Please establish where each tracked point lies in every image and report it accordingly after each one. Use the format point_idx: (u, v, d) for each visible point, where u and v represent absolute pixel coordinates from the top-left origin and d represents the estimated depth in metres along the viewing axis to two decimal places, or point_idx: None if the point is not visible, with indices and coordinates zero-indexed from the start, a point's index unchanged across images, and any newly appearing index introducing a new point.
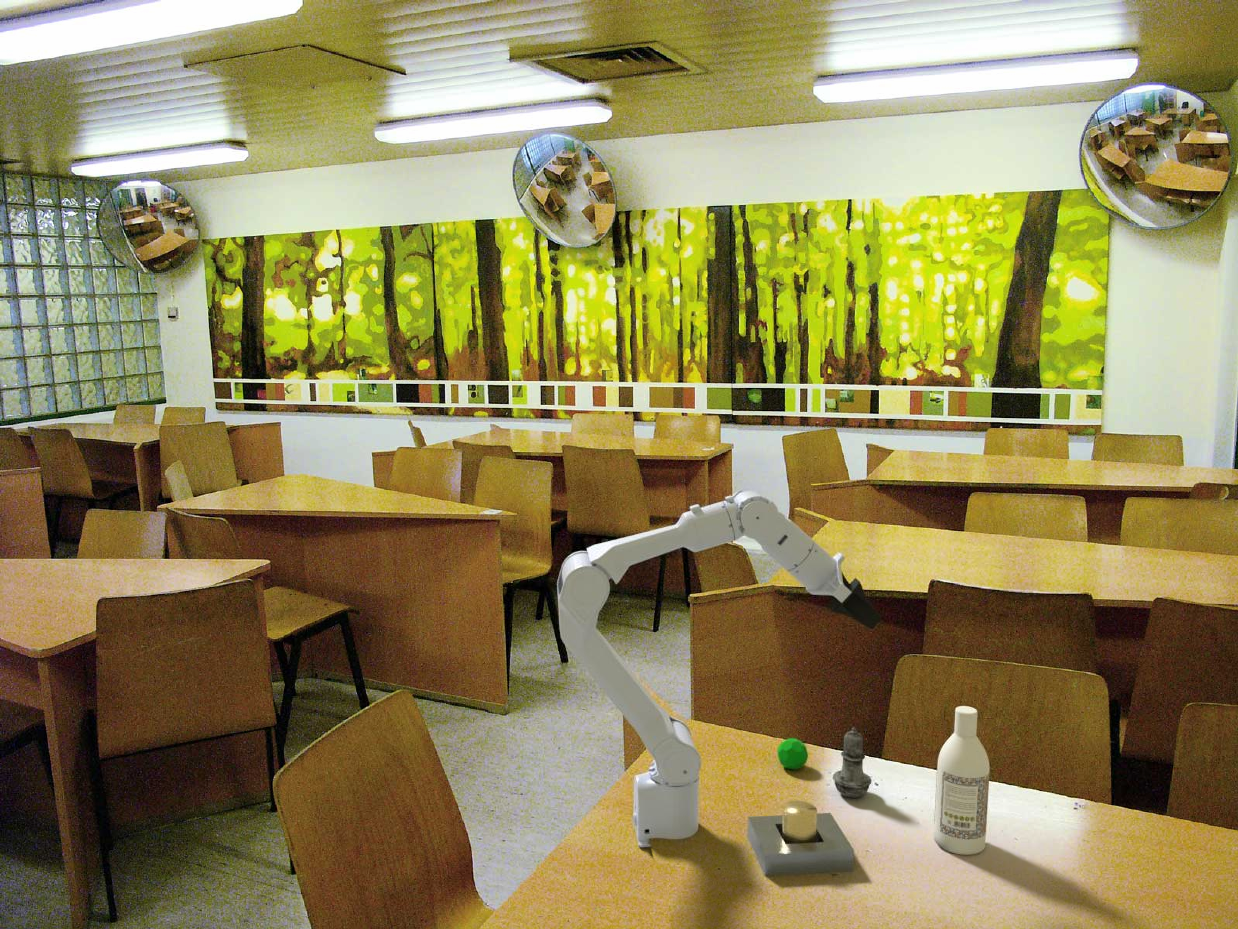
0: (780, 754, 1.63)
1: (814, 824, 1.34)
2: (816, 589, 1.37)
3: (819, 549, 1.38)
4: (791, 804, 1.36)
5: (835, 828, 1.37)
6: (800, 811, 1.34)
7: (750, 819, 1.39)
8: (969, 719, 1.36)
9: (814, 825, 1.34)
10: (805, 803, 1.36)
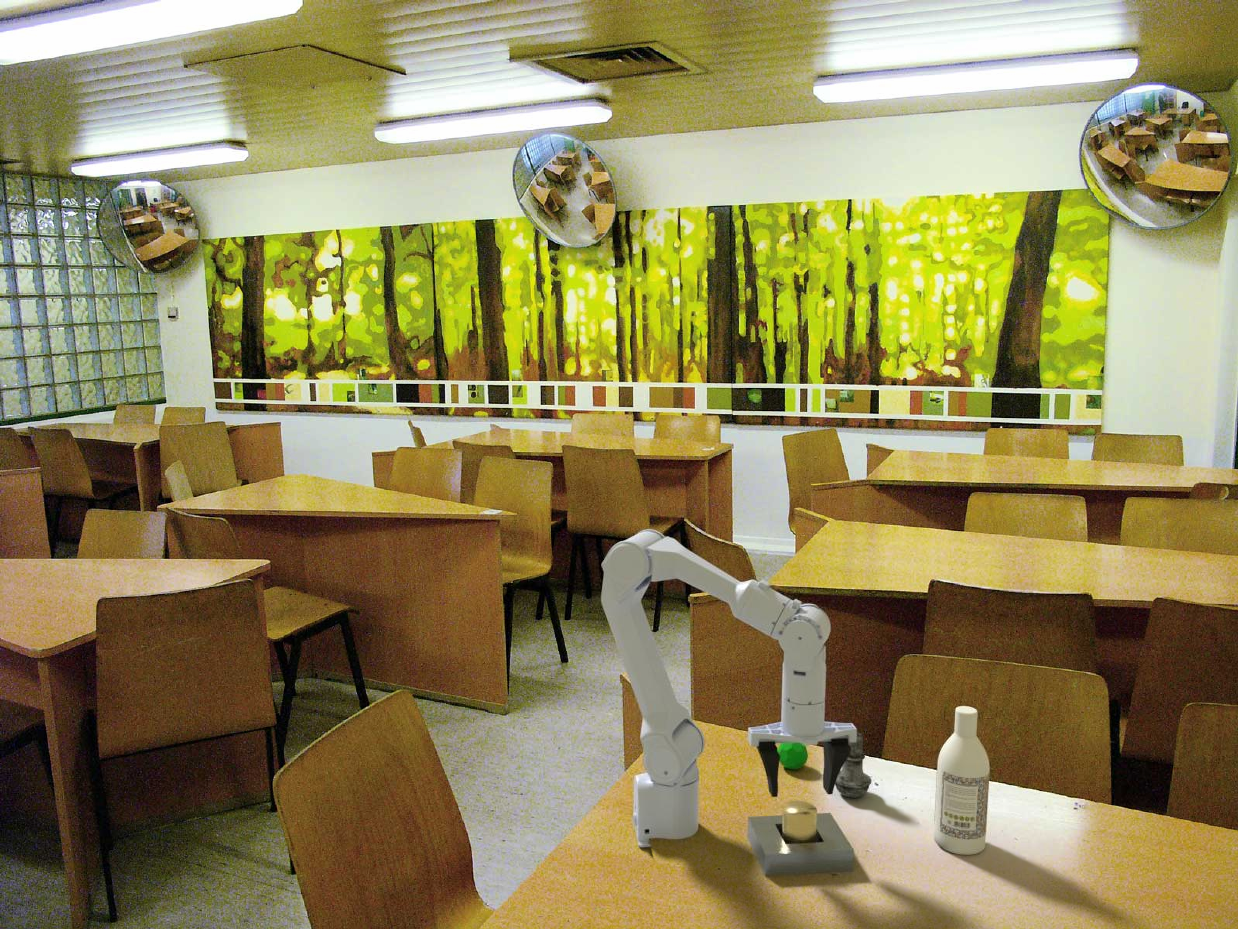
0: (780, 754, 1.63)
1: (814, 824, 1.34)
2: (781, 723, 1.35)
3: (797, 712, 1.30)
4: (791, 804, 1.36)
5: (835, 828, 1.37)
6: (800, 811, 1.34)
7: (750, 819, 1.39)
8: (969, 719, 1.36)
9: (814, 825, 1.34)
10: (805, 803, 1.36)
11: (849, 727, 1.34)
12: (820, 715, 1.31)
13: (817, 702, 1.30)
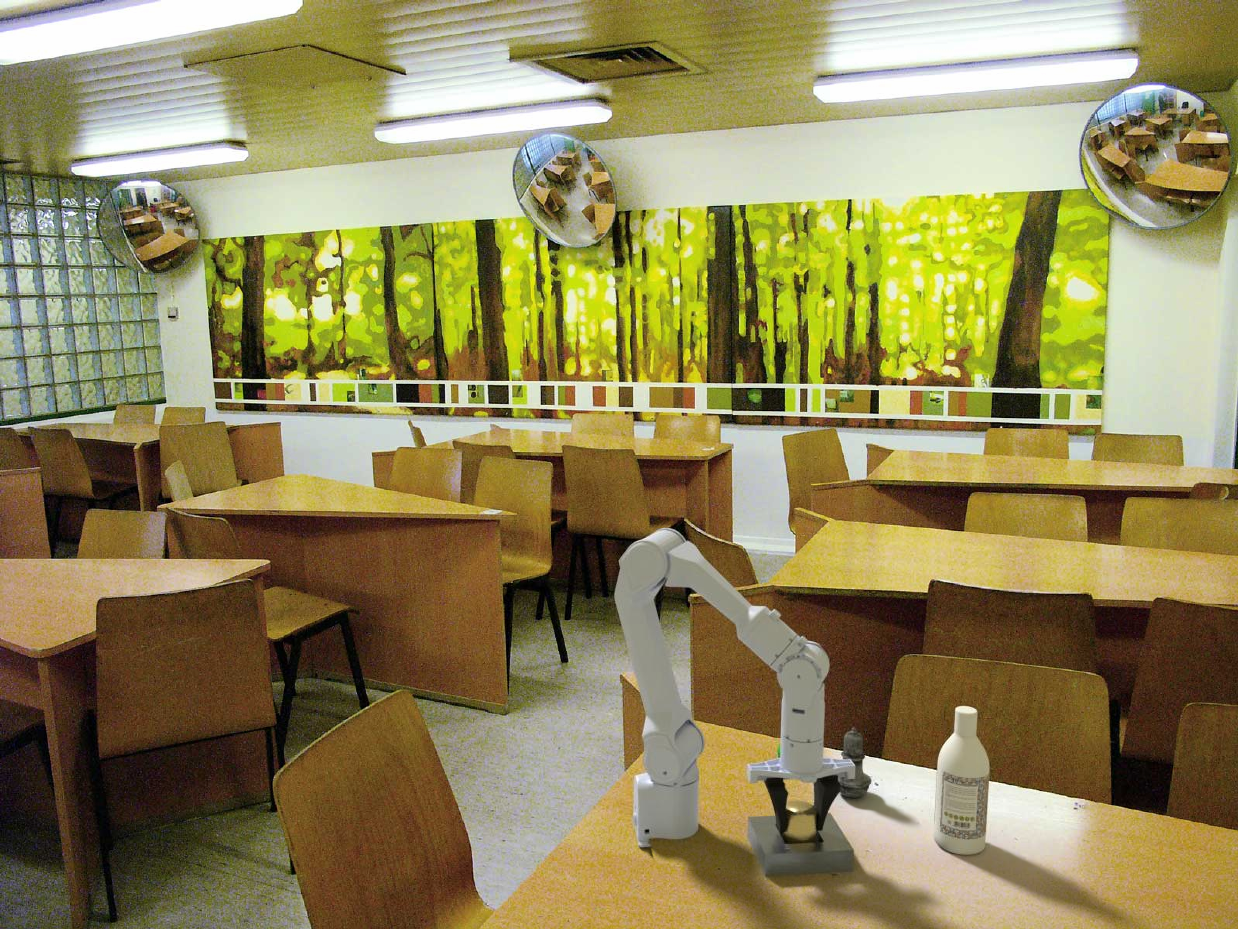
0: None
1: (814, 824, 1.34)
2: (780, 759, 1.36)
3: (796, 749, 1.31)
4: (791, 804, 1.36)
5: (835, 828, 1.37)
6: (800, 811, 1.34)
7: (750, 819, 1.39)
8: (969, 719, 1.36)
9: (814, 825, 1.34)
10: (805, 803, 1.36)
11: (848, 763, 1.34)
12: (818, 752, 1.31)
13: (816, 740, 1.31)
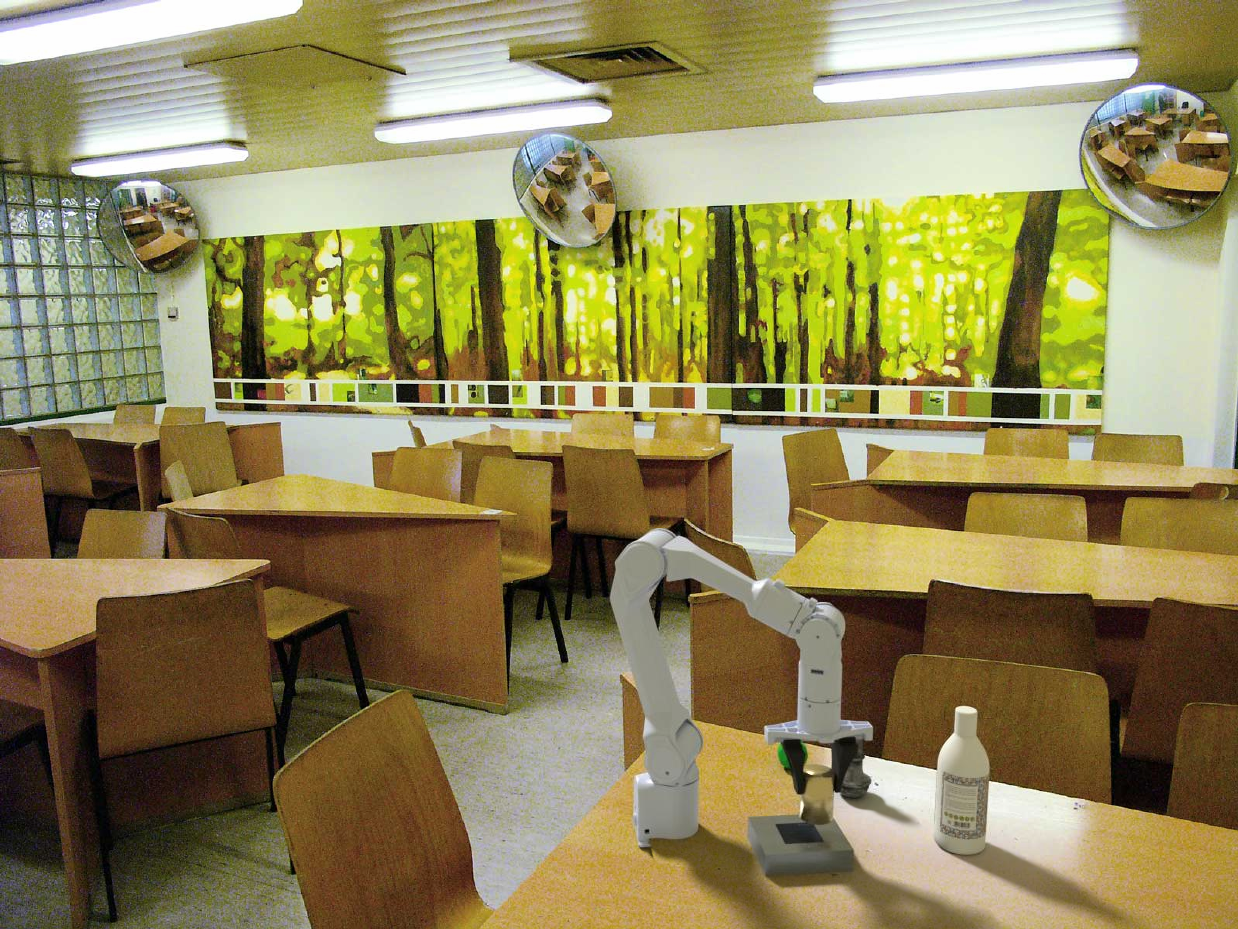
0: (780, 754, 1.63)
1: (832, 786, 1.33)
2: (797, 721, 1.35)
3: (814, 710, 1.30)
4: (808, 767, 1.36)
5: (835, 828, 1.37)
6: (817, 774, 1.34)
7: (750, 819, 1.39)
8: (969, 719, 1.36)
9: (832, 787, 1.33)
10: (822, 766, 1.36)
11: (865, 725, 1.34)
12: (836, 713, 1.31)
13: (834, 700, 1.31)
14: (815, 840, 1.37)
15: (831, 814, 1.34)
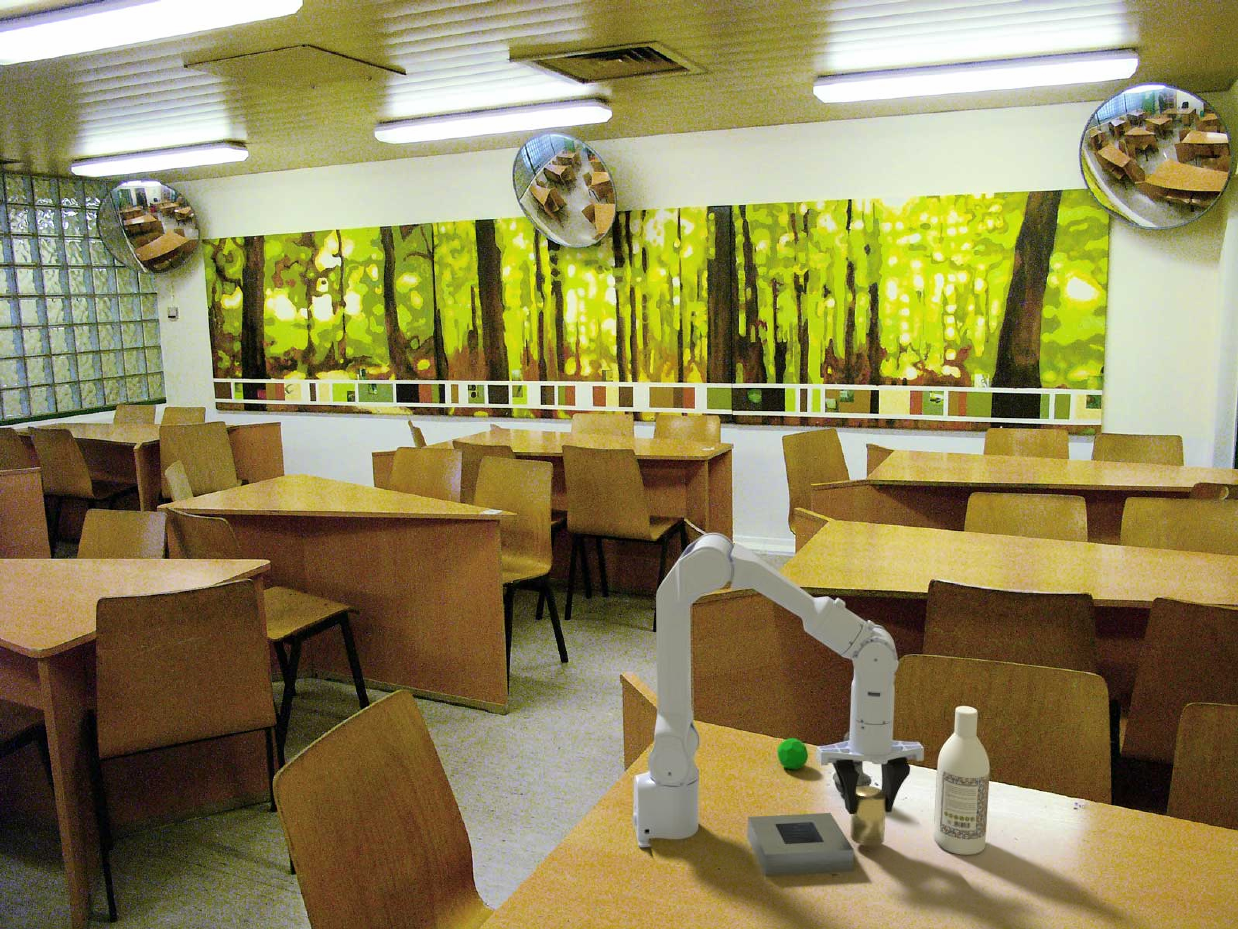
0: (780, 754, 1.63)
1: (883, 808, 1.35)
2: (848, 741, 1.37)
3: (867, 731, 1.33)
4: (860, 789, 1.38)
5: (835, 828, 1.37)
6: (869, 796, 1.36)
7: (750, 819, 1.39)
8: (969, 719, 1.36)
9: (883, 809, 1.35)
10: (873, 788, 1.38)
11: (916, 746, 1.36)
12: (889, 735, 1.33)
13: (889, 721, 1.33)
14: (815, 840, 1.37)
15: (883, 835, 1.36)
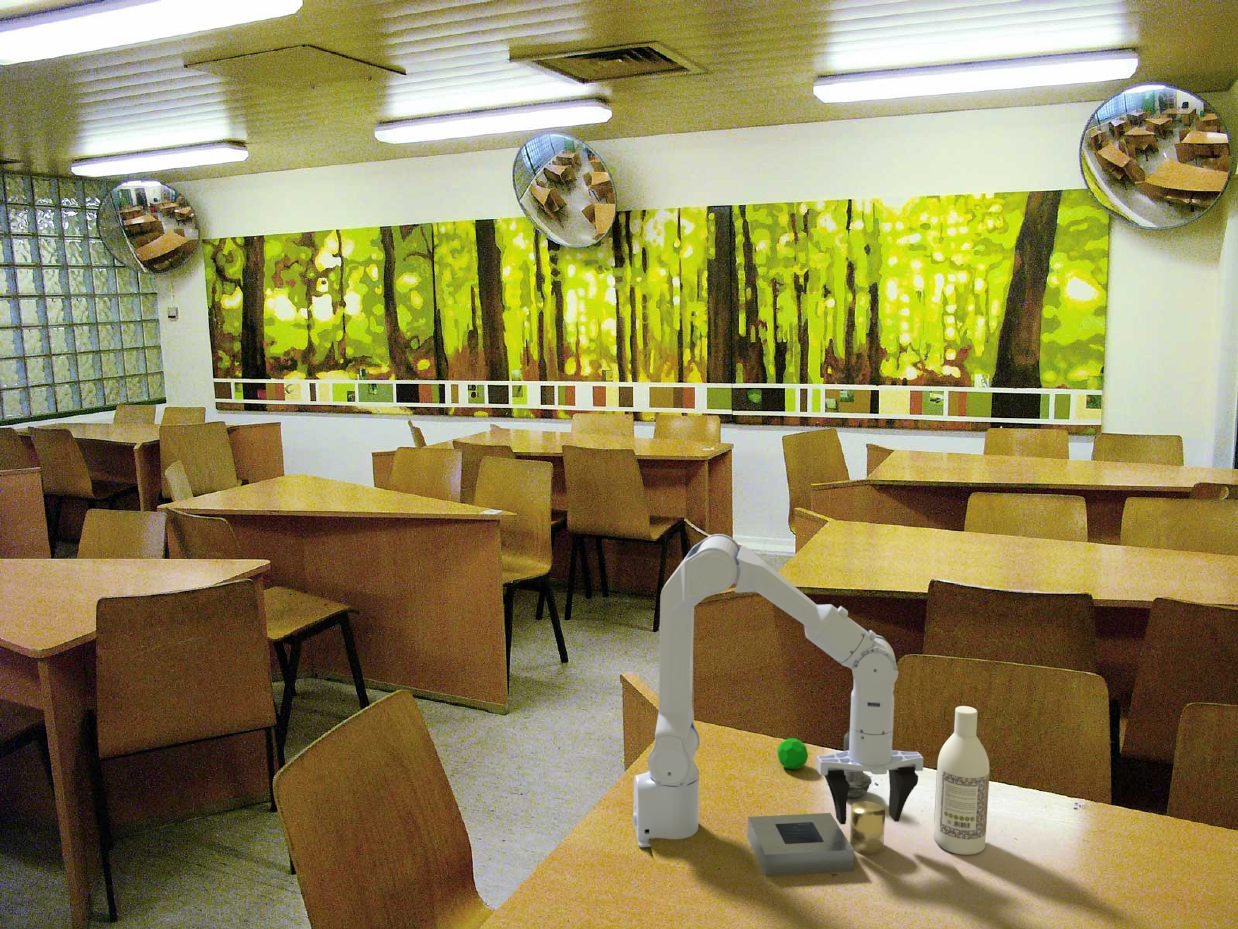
0: (780, 754, 1.63)
1: (882, 824, 1.36)
2: (848, 751, 1.38)
3: (867, 741, 1.33)
4: (859, 804, 1.38)
5: (835, 828, 1.37)
6: (868, 812, 1.36)
7: (750, 819, 1.39)
8: (969, 719, 1.36)
9: (882, 825, 1.36)
10: (872, 803, 1.38)
11: (915, 756, 1.36)
12: (888, 745, 1.33)
13: (889, 731, 1.33)
14: (815, 840, 1.37)
15: None
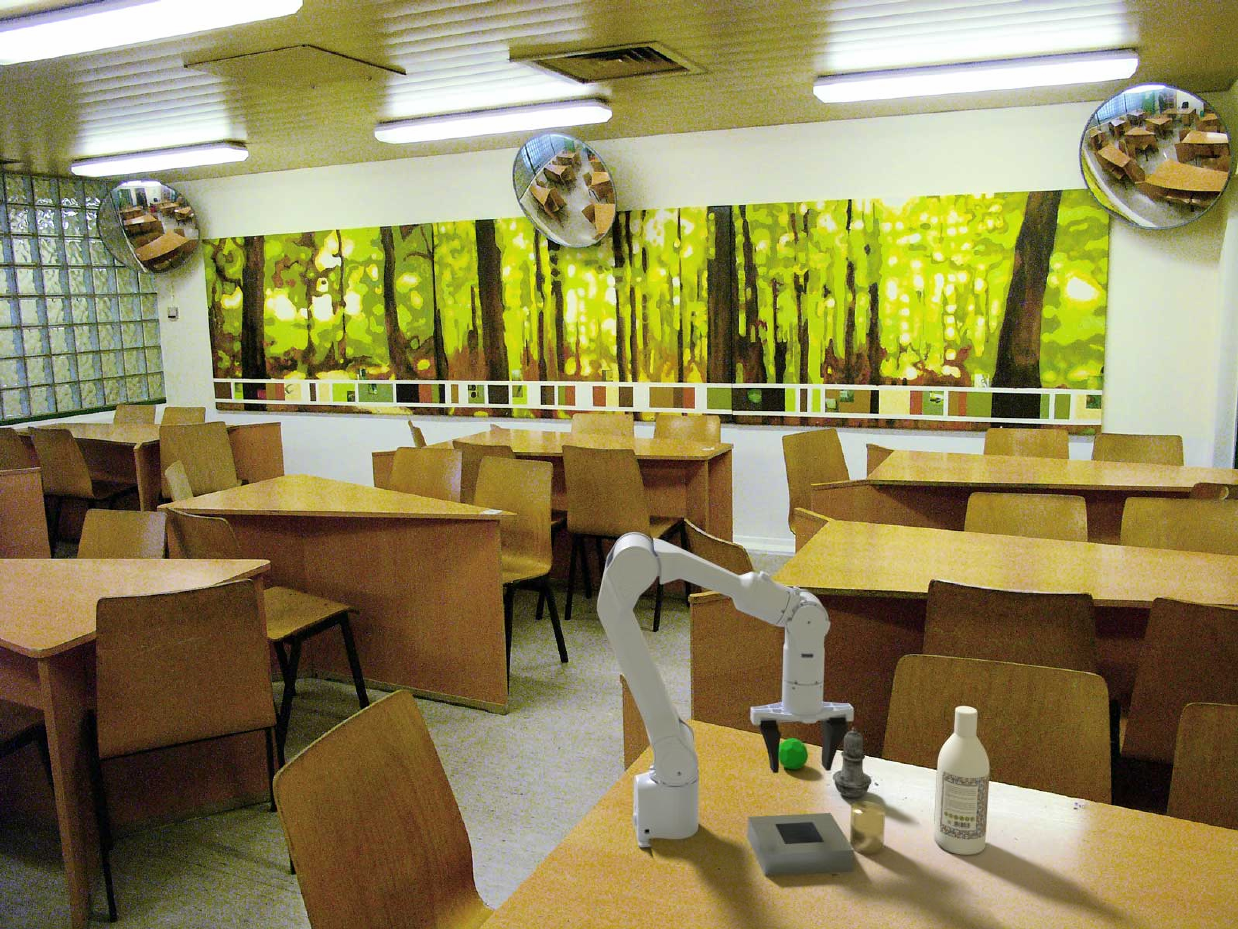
0: (780, 754, 1.63)
1: (882, 824, 1.36)
2: (782, 703, 1.42)
3: (797, 692, 1.37)
4: (859, 804, 1.38)
5: (835, 828, 1.37)
6: (868, 812, 1.36)
7: (750, 819, 1.39)
8: (969, 719, 1.36)
9: (882, 825, 1.36)
10: (872, 803, 1.38)
11: (846, 707, 1.41)
12: (819, 695, 1.38)
13: (821, 681, 1.38)
14: (815, 840, 1.37)
15: None
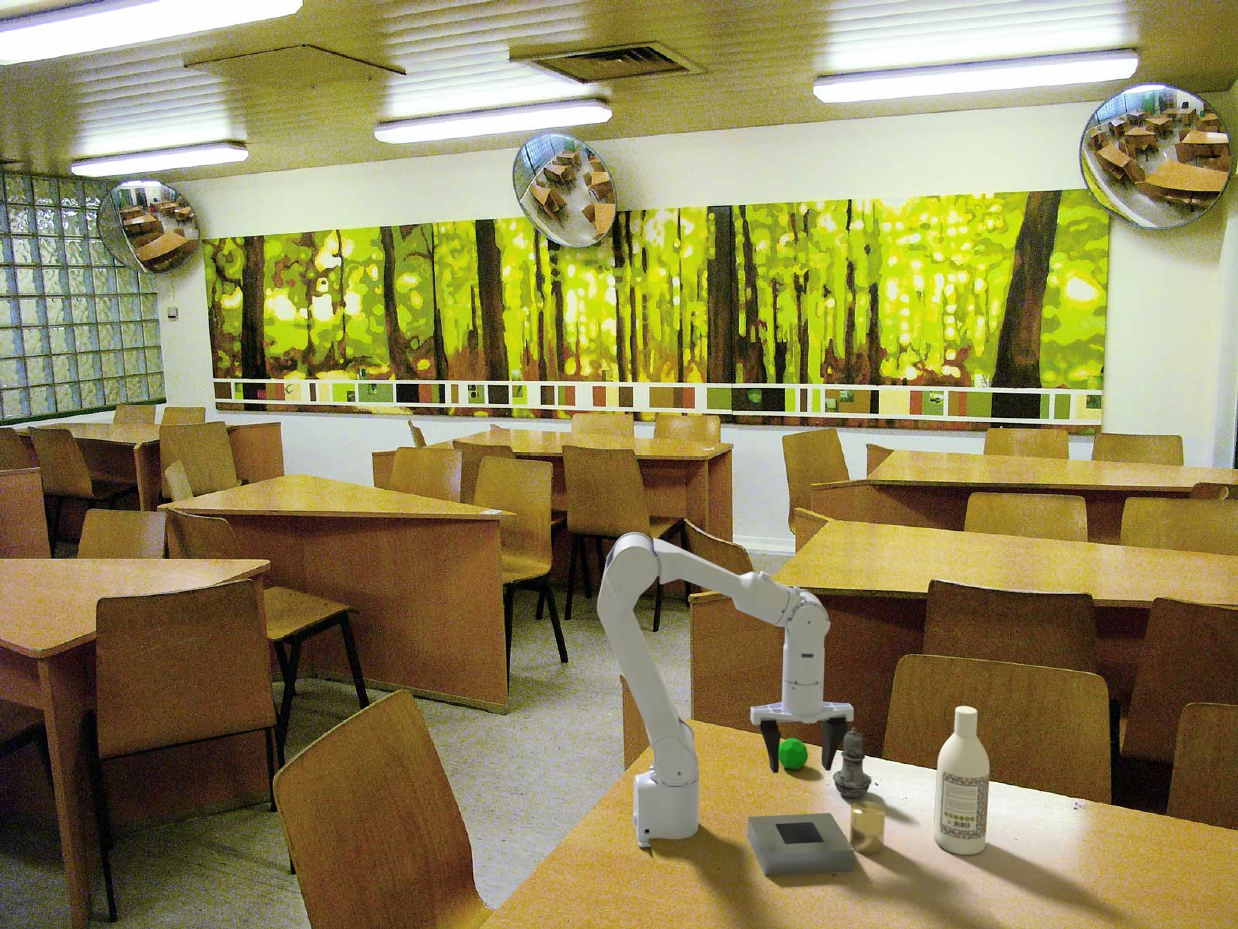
0: (780, 754, 1.63)
1: (882, 824, 1.36)
2: (782, 703, 1.42)
3: (797, 692, 1.37)
4: (859, 804, 1.38)
5: (835, 828, 1.37)
6: (868, 812, 1.36)
7: (750, 819, 1.39)
8: (969, 719, 1.36)
9: (882, 825, 1.36)
10: (872, 803, 1.38)
11: (846, 707, 1.41)
12: (819, 695, 1.38)
13: (821, 681, 1.38)
14: (815, 840, 1.37)
15: None
